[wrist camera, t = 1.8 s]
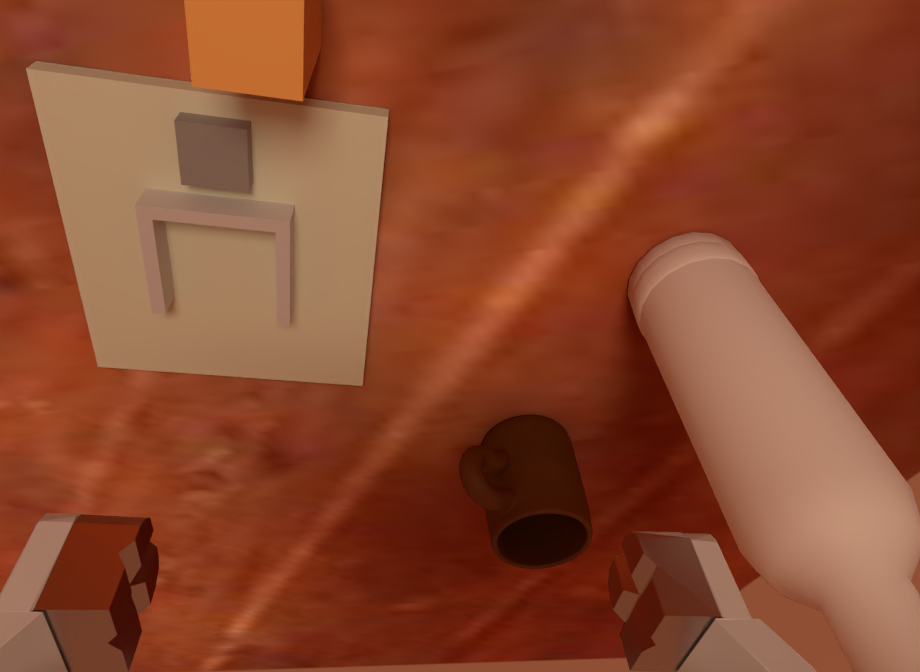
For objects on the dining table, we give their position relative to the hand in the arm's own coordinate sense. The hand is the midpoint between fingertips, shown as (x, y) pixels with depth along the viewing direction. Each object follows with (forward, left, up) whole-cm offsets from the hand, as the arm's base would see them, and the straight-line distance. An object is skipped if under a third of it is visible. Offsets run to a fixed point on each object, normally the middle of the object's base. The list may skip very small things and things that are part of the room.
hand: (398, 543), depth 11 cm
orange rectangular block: (-2, -6, -30) cm, 30 cm away
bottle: (+12, +21, -30) cm, 38 cm away
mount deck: (+13, -9, -30) cm, 34 cm away
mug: (+28, +12, -30) cm, 43 cm away
